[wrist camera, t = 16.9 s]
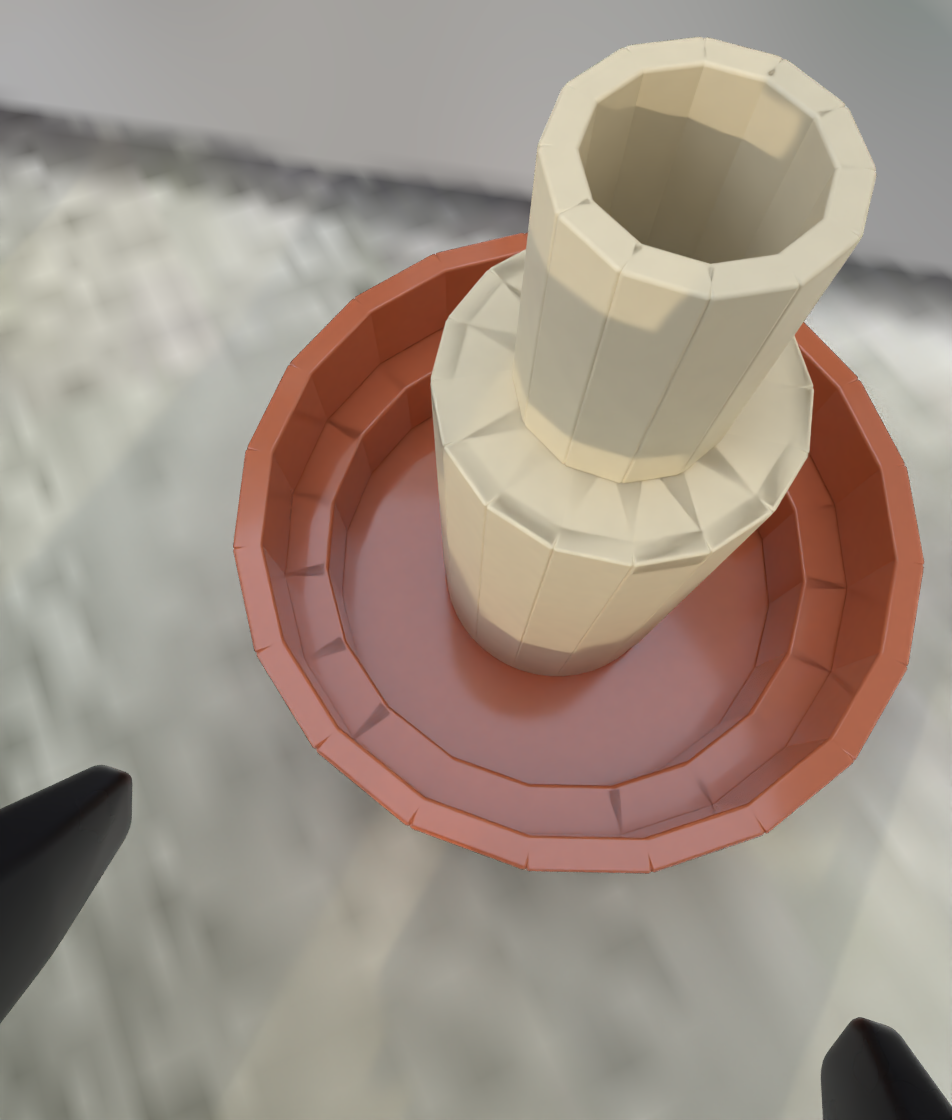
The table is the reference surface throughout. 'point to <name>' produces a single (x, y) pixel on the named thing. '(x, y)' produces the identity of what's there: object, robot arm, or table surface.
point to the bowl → (576, 700)
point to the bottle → (641, 347)
